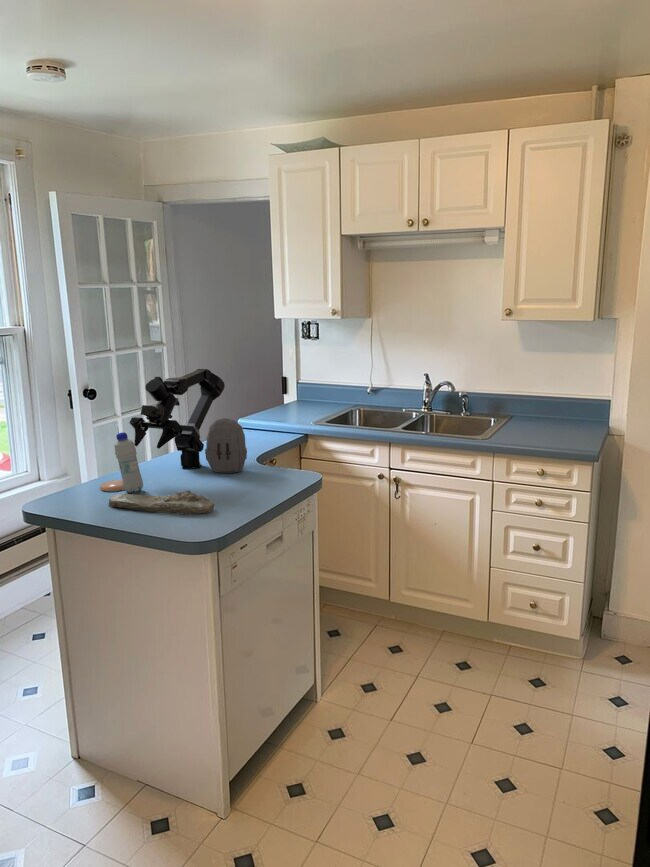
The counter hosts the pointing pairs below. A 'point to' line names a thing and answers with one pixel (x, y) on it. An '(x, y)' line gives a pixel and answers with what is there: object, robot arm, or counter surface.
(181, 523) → the counter surface
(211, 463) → the soft grey pack
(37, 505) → the counter surface
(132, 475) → the bottle
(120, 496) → the long grey stone
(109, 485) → the peach round piece
